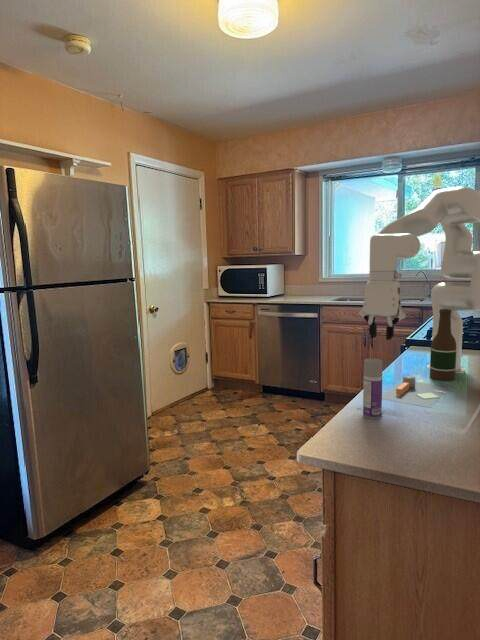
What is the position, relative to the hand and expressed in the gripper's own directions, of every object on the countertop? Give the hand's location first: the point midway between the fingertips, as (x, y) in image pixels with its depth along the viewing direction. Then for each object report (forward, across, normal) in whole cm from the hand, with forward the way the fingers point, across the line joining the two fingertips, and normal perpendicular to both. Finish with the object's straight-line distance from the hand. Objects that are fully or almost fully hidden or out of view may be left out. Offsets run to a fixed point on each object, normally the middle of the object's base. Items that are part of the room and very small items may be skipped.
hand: (381, 337), depth 129 cm
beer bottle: (+18, -12, -23) cm, 31 cm away
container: (+18, -5, +19) cm, 26 cm away
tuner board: (+17, -10, -3) cm, 20 cm away
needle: (+16, -7, -3) cm, 17 cm away
